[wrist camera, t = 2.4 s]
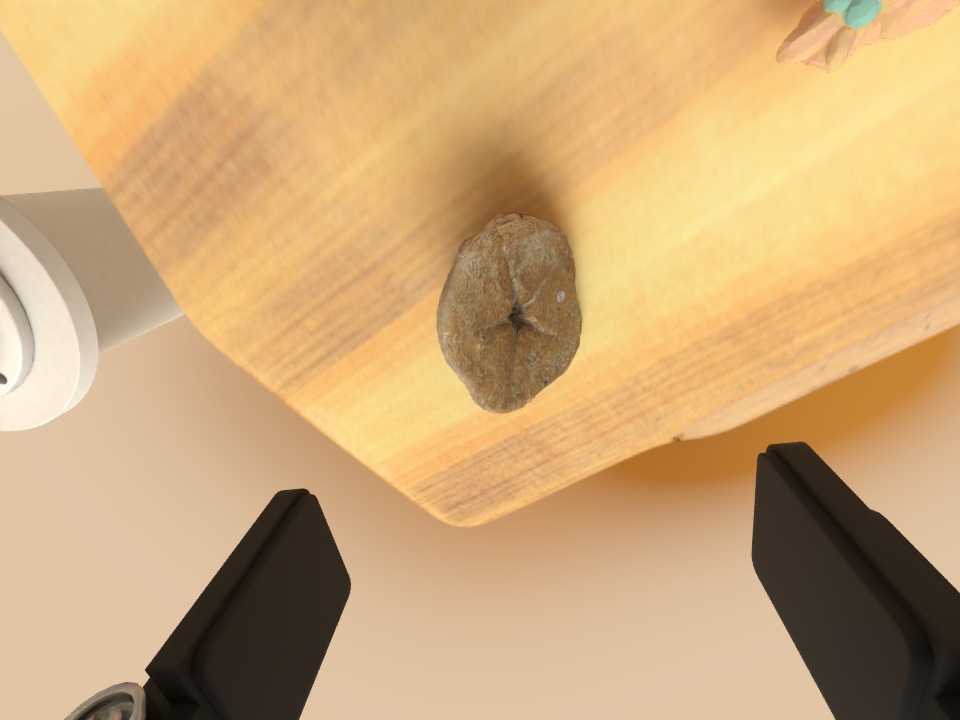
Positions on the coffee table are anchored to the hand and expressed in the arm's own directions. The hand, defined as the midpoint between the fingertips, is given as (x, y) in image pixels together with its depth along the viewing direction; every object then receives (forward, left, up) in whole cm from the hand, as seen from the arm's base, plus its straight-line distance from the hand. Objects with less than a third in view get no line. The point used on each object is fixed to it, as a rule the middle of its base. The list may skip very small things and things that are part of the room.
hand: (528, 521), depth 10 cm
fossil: (0, 0, -18) cm, 18 cm away
